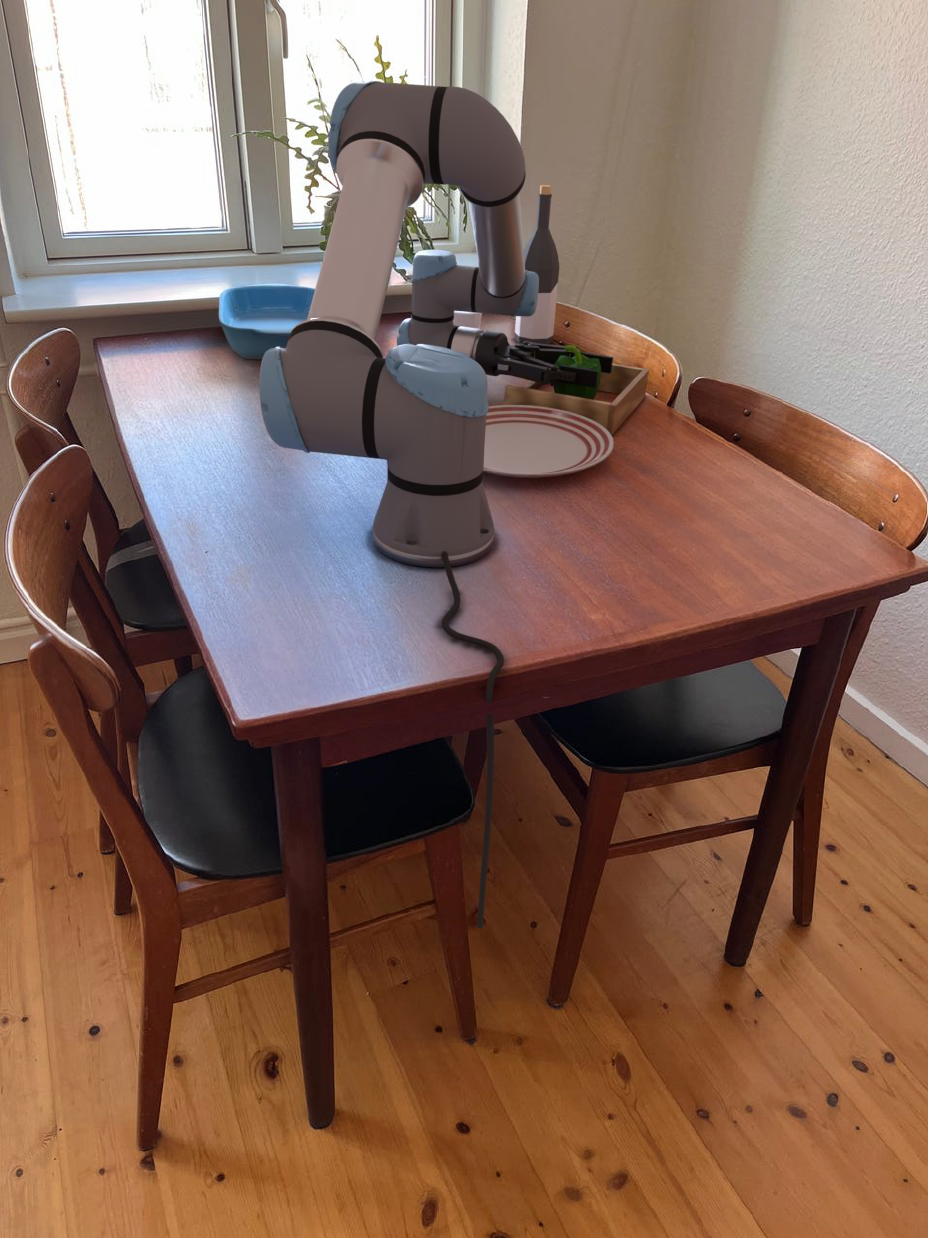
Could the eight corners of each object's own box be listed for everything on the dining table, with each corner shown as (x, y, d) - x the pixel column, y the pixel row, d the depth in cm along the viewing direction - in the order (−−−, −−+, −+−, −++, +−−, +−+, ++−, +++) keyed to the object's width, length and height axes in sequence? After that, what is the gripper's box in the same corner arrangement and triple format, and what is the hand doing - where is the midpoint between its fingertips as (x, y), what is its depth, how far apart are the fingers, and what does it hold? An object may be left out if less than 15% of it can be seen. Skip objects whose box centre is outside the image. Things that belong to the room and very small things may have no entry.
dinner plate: (519, 509, 126) (520, 486, 125) (395, 447, 144) (395, 426, 142) (648, 462, 142) (651, 442, 140) (523, 411, 159) (524, 392, 158)
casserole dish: (343, 365, 177) (342, 327, 173) (222, 368, 172) (218, 329, 168) (325, 315, 207) (323, 282, 203) (221, 317, 202) (218, 282, 199)
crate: (497, 413, 158) (499, 384, 155) (541, 378, 175) (543, 352, 173) (611, 435, 152) (615, 405, 149) (645, 396, 169) (649, 369, 166)
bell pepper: (607, 405, 164) (615, 348, 158) (579, 415, 158) (586, 357, 153) (569, 393, 168) (575, 337, 163) (540, 403, 163) (546, 345, 158)
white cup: (487, 343, 194) (488, 308, 190) (469, 350, 189) (471, 315, 185) (459, 336, 197) (460, 302, 193) (441, 344, 192) (442, 309, 188)
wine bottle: (516, 334, 200) (526, 181, 184) (553, 337, 200) (567, 184, 184) (512, 344, 194) (523, 186, 178) (551, 347, 193) (565, 189, 177)
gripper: (501, 357, 176) (618, 377, 169) (456, 388, 159) (583, 411, 152) (504, 317, 172) (623, 335, 165) (458, 344, 155) (588, 366, 148)
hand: (604, 372), depth 158 cm, fingers closed on bell pepper, 8 cm apart
